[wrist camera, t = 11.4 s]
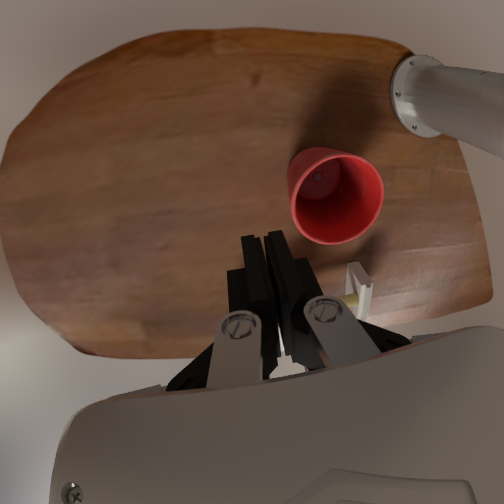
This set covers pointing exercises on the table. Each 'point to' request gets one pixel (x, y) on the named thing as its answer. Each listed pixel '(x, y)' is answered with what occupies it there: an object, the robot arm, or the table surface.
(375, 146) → the table surface
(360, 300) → the rail
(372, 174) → the flower pot
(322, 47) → the table surface
